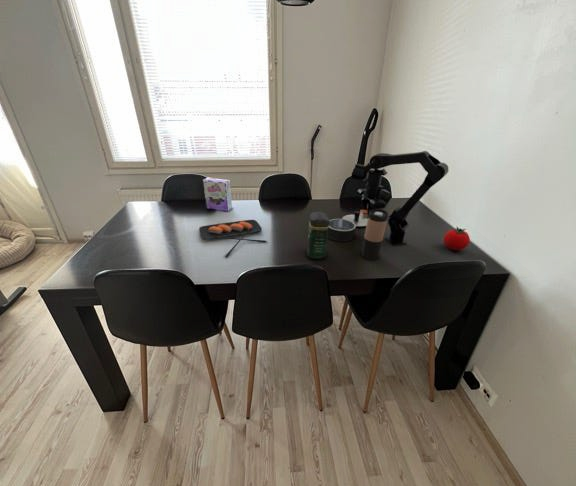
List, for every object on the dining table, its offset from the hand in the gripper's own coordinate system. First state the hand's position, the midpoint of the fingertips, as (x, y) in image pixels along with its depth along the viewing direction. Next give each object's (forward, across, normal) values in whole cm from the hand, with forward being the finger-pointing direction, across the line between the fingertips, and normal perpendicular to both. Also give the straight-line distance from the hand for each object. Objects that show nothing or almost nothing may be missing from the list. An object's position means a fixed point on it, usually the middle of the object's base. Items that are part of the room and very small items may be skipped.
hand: (367, 215), depth 142 cm
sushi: (+1, 0, 0) cm, 1 cm away
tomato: (+9, -23, -34) cm, 42 cm away
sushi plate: (+9, +3, +64) cm, 65 cm away
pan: (+9, -1, +14) cm, 16 cm away
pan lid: (+8, +12, 0) cm, 14 cm away
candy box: (+10, +42, +71) cm, 82 cm away
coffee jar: (+9, -17, +30) cm, 36 cm away
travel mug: (+9, -22, +7) cm, 25 cm away
